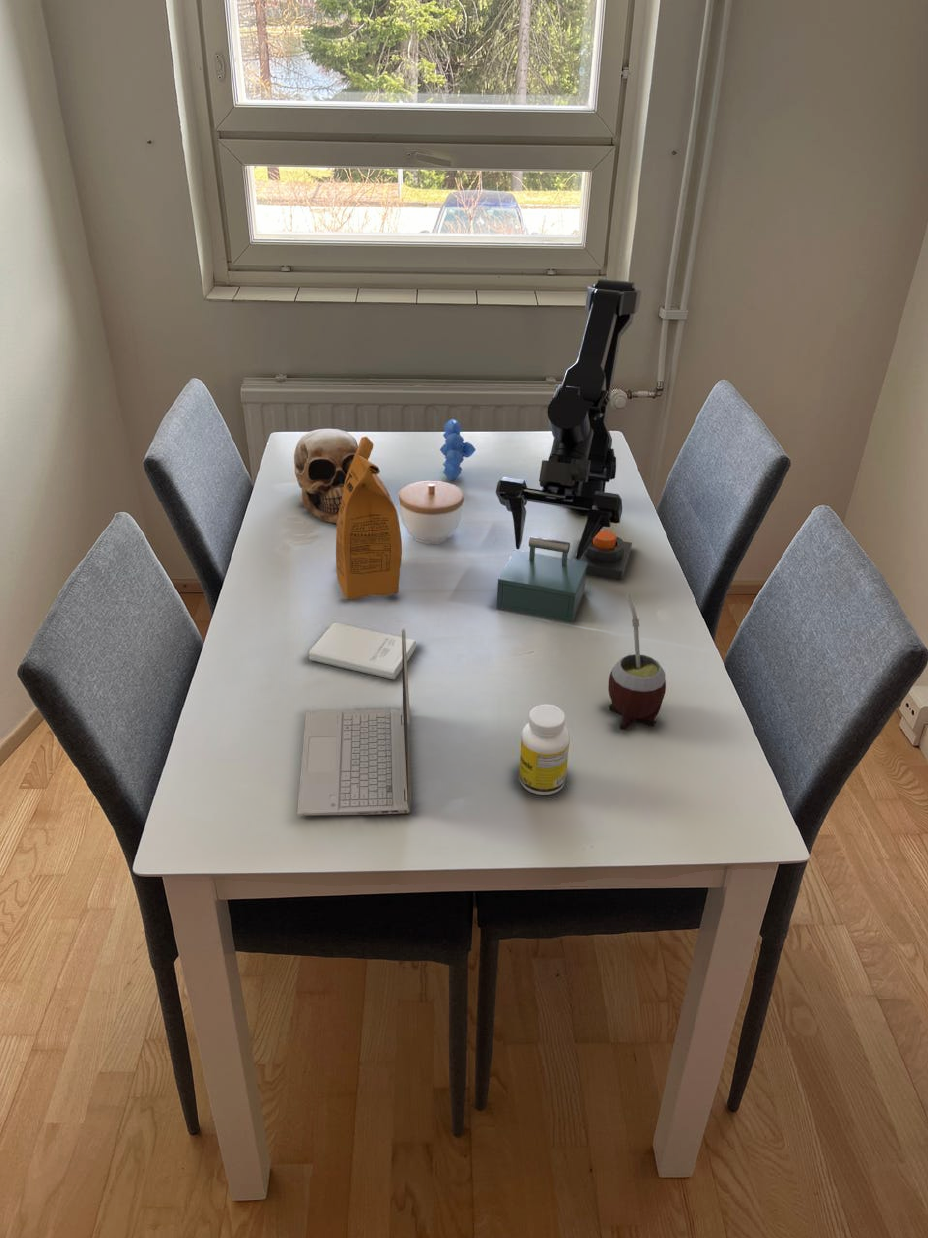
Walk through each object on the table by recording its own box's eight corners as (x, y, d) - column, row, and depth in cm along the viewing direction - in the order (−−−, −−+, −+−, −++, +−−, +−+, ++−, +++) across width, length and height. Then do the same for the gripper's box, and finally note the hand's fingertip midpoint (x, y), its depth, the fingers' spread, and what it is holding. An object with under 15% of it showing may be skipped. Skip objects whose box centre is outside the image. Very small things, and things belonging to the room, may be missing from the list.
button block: (583, 543, 158) (585, 525, 156) (630, 551, 156) (633, 532, 155) (571, 571, 150) (573, 552, 148) (621, 580, 148) (623, 561, 146)
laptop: (306, 715, 118) (299, 629, 111) (406, 712, 119) (405, 627, 112) (297, 819, 103) (288, 727, 96) (411, 814, 104) (411, 723, 97)
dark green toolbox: (511, 580, 148) (512, 556, 145) (583, 593, 145) (586, 569, 143) (496, 608, 141) (497, 583, 138) (572, 622, 138) (575, 597, 136)
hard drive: (335, 630, 135) (416, 648, 131) (309, 661, 128) (393, 681, 125) (334, 620, 134) (416, 638, 131) (308, 652, 127) (393, 671, 124)
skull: (347, 528, 160) (339, 452, 154) (270, 512, 168) (259, 440, 162) (400, 498, 172) (394, 426, 165) (325, 484, 180) (317, 416, 174)
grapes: (476, 492, 174) (479, 430, 167) (440, 492, 173) (441, 430, 167) (472, 466, 184) (474, 407, 177) (438, 466, 183) (438, 407, 177)
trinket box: (465, 523, 163) (467, 473, 158) (459, 553, 154) (460, 501, 149) (404, 519, 164) (404, 469, 159) (394, 548, 155) (393, 496, 150)
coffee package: (399, 560, 152) (397, 431, 140) (404, 601, 142) (402, 465, 130) (337, 562, 151) (330, 432, 139) (337, 603, 141) (329, 467, 128)
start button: (594, 537, 154) (596, 528, 153) (616, 541, 153) (618, 532, 152) (590, 548, 151) (591, 538, 150) (613, 551, 150) (614, 542, 149)
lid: (513, 553, 146) (515, 527, 143) (587, 566, 143) (590, 540, 141) (497, 583, 138) (499, 556, 136) (575, 597, 136) (578, 570, 133)
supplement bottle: (515, 765, 112) (520, 700, 106) (560, 764, 112) (567, 699, 107) (521, 798, 107) (527, 731, 102) (568, 796, 108) (576, 730, 102)
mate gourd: (646, 741, 116) (664, 641, 108) (588, 719, 119) (601, 620, 111) (669, 710, 121) (687, 612, 113) (613, 689, 125) (627, 592, 116)
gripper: (501, 426, 138) (477, 526, 135) (628, 443, 134) (606, 547, 131) (512, 456, 149) (490, 549, 146) (630, 473, 144) (610, 569, 141)
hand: (547, 553), depth 141 cm, fingers open, 9 cm apart
